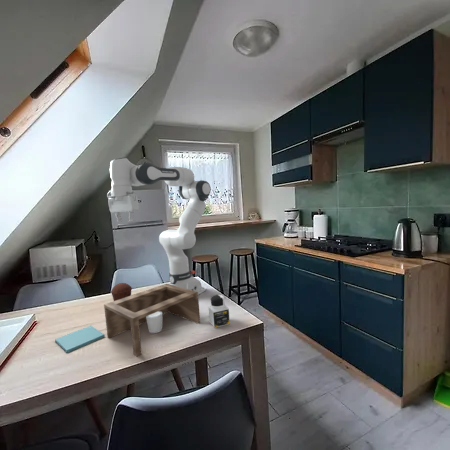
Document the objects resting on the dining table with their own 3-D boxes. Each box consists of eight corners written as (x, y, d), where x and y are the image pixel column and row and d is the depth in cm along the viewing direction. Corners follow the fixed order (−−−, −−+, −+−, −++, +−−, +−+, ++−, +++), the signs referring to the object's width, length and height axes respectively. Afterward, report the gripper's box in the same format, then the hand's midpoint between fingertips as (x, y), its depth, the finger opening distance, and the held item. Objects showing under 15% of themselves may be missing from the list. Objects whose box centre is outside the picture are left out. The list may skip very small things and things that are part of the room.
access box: (168, 310, 128) (166, 283, 127) (200, 322, 113) (197, 291, 111) (107, 337, 105) (104, 304, 103) (136, 356, 89) (132, 318, 88)
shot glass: (153, 335, 104) (152, 318, 103) (143, 331, 108) (142, 315, 107) (167, 328, 109) (165, 312, 109) (157, 324, 113) (155, 309, 113)
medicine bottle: (214, 328, 106) (212, 300, 105) (209, 321, 113) (207, 295, 112) (229, 324, 109) (228, 297, 108) (223, 317, 116) (222, 292, 115)
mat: (91, 327, 114) (90, 325, 114) (104, 336, 105) (104, 334, 105) (55, 341, 104) (55, 339, 104) (66, 352, 95) (66, 350, 95)
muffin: (112, 299, 150) (110, 282, 149) (132, 295, 154) (130, 279, 153) (111, 306, 139) (110, 288, 138) (133, 302, 143) (131, 284, 142)
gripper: (141, 190, 116) (143, 220, 117) (117, 194, 128) (119, 221, 129) (128, 190, 111) (131, 222, 112) (105, 194, 123) (107, 222, 124)
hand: (125, 221), depth 121 cm, fingers open, 8 cm apart
